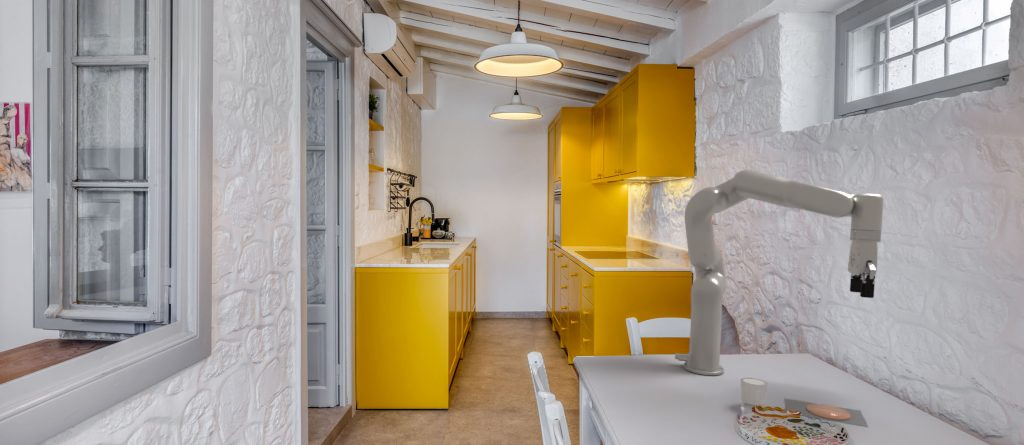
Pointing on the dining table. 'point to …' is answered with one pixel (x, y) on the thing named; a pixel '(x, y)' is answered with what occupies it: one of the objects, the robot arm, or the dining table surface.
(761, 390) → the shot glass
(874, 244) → the robot arm
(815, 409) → the coaster
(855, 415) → the board
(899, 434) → the dining table surface
